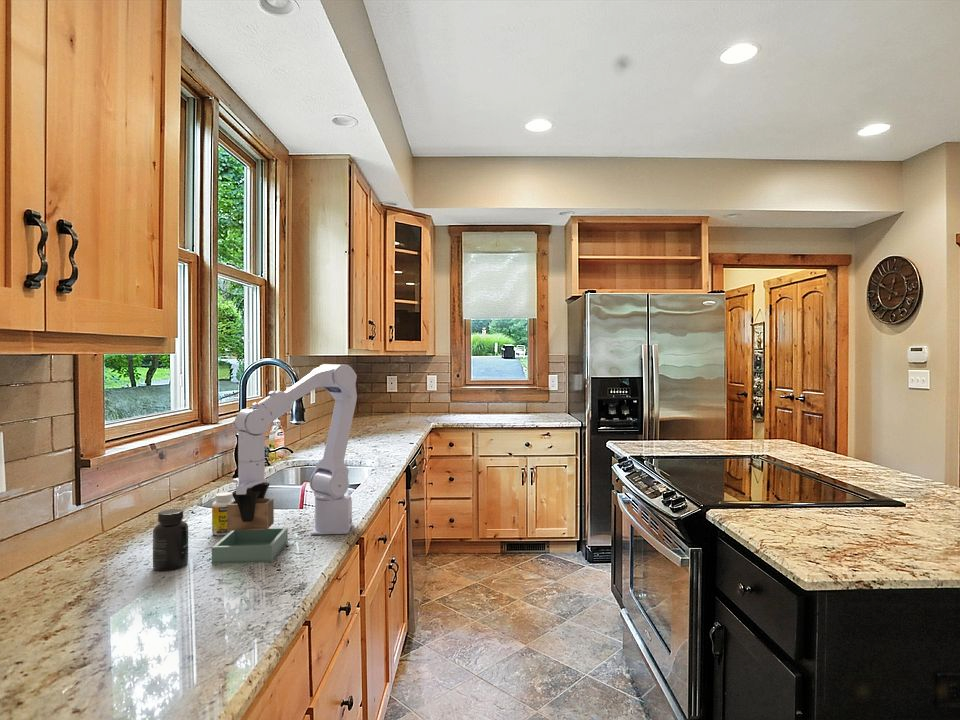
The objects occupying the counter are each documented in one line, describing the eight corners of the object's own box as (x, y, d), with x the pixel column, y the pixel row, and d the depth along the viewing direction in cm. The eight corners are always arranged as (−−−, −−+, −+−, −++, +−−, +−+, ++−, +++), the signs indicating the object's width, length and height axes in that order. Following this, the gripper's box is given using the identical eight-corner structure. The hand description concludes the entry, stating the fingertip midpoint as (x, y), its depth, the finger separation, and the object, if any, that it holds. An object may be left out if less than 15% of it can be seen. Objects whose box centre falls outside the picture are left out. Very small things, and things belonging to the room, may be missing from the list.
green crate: (287, 543, 134) (287, 527, 134) (271, 563, 121) (271, 545, 121) (233, 544, 133) (233, 528, 133) (211, 565, 120) (211, 547, 120)
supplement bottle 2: (216, 538, 137) (216, 497, 137) (209, 532, 141) (208, 493, 141) (238, 533, 141) (238, 493, 141) (231, 528, 145) (231, 490, 145)
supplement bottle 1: (193, 565, 119) (193, 511, 119) (158, 574, 114) (158, 518, 114) (182, 557, 124) (182, 505, 124) (148, 566, 119) (148, 511, 119)
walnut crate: (273, 523, 130) (273, 498, 130) (267, 529, 125) (267, 503, 125) (235, 524, 129) (234, 499, 129) (227, 530, 124) (226, 504, 124)
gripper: (244, 454, 134) (244, 509, 134) (221, 466, 119) (221, 527, 120) (274, 454, 135) (274, 508, 135) (254, 466, 120) (254, 526, 120)
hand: (251, 517), depth 127 cm, fingers closed on walnut crate, 5 cm apart
